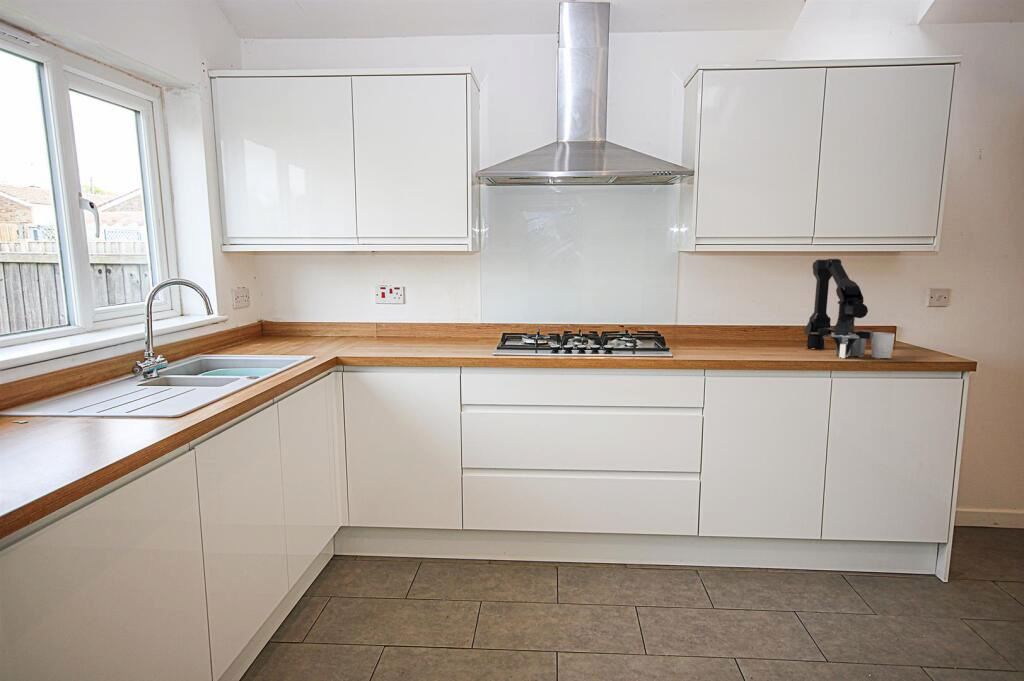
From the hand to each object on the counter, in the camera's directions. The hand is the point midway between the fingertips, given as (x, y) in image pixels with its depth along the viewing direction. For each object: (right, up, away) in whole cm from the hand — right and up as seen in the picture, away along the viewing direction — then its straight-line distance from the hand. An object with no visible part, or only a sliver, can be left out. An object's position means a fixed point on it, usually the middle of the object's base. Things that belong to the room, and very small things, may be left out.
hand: (843, 354), depth 235 cm
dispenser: (+8, -1, +8) cm, 11 cm away
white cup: (+16, -2, +2) cm, 16 cm away
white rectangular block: (+4, -1, +4) cm, 6 cm away
